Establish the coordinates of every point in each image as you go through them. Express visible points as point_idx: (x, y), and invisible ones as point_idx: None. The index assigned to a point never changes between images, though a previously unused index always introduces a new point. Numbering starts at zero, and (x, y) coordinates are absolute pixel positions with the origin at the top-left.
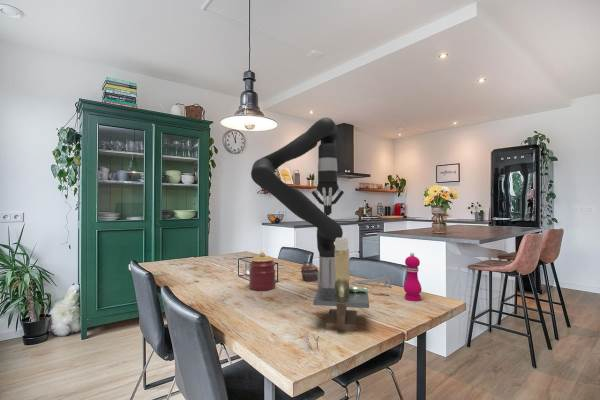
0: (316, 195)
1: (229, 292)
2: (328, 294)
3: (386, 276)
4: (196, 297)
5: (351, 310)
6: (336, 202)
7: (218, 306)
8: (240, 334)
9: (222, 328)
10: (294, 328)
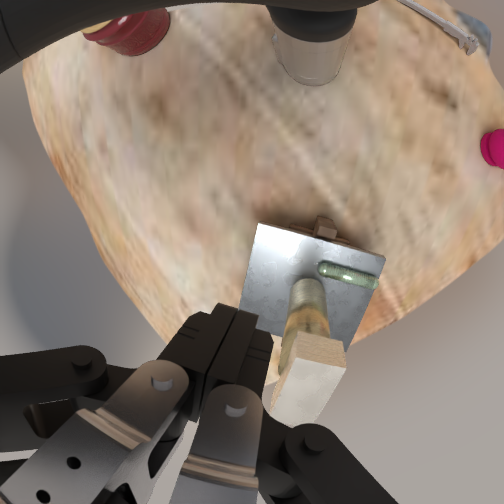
0: (8, 444)
1: (85, 79)
2: (274, 287)
3: (472, 38)
4: (48, 121)
5: (338, 241)
6: (339, 450)
7: (80, 166)
8: (139, 295)
9: (111, 270)
10: (214, 286)
